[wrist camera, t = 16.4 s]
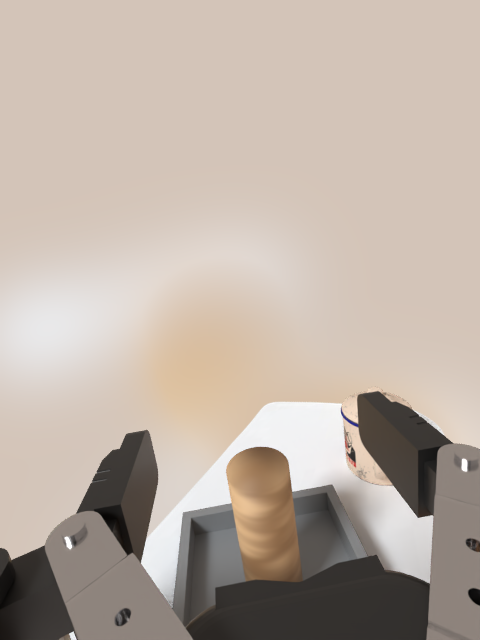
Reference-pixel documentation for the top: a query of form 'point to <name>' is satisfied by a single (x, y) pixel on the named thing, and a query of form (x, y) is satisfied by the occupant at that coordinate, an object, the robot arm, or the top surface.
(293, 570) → the oak cylinder
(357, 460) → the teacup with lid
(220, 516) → the bin
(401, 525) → the top surface
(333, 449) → the top surface
